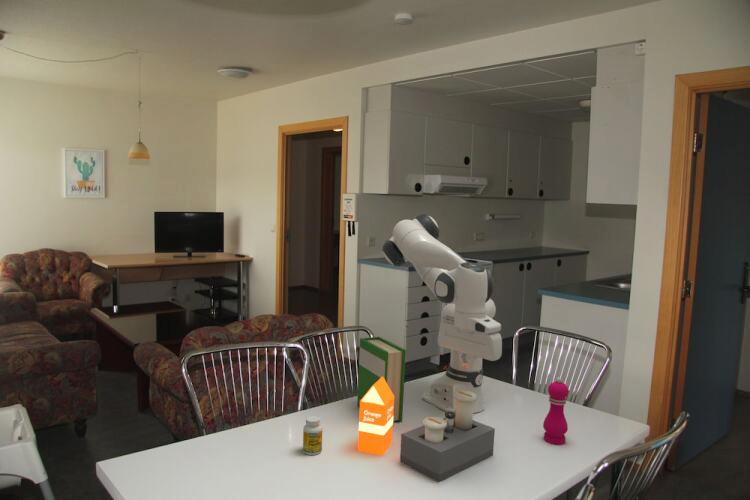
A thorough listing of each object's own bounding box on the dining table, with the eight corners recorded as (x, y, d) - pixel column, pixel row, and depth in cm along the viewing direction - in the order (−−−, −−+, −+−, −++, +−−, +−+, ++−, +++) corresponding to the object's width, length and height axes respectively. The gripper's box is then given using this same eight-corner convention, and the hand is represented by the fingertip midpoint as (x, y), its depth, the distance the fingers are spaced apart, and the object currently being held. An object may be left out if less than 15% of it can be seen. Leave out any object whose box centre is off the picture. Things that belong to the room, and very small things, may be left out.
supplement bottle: (317, 445, 164) (318, 413, 163) (324, 453, 159) (325, 420, 158) (299, 449, 161) (300, 416, 160) (306, 457, 156) (307, 423, 155)
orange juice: (392, 443, 167) (395, 377, 165) (383, 455, 159) (386, 387, 157) (367, 438, 170) (370, 373, 168) (357, 450, 162) (360, 382, 160)
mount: (399, 461, 156) (401, 434, 155) (454, 438, 172) (456, 413, 172) (439, 482, 146) (440, 452, 145) (493, 455, 162) (494, 428, 162)
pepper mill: (568, 446, 170) (573, 382, 168) (543, 443, 172) (548, 379, 170) (565, 436, 177) (570, 375, 175) (541, 434, 179) (545, 372, 177)
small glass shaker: (441, 430, 158) (442, 412, 158) (448, 428, 160) (449, 410, 160) (449, 434, 156) (450, 416, 156) (456, 431, 158) (457, 413, 158)
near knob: (416, 455, 154) (418, 419, 153) (431, 449, 159) (433, 413, 158) (434, 464, 150) (436, 427, 149) (449, 457, 154) (451, 421, 153)
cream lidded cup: (447, 427, 163) (449, 392, 162) (461, 421, 167) (463, 388, 166) (465, 434, 158) (467, 399, 157) (478, 428, 163) (481, 394, 162)
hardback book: (402, 422, 183) (405, 350, 181) (382, 425, 180) (385, 352, 177) (376, 403, 199) (379, 336, 196) (357, 406, 195) (360, 338, 193)
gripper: (434, 315, 165) (432, 361, 166) (493, 329, 150) (490, 379, 152) (448, 313, 169) (445, 358, 171) (506, 326, 155) (503, 375, 156)
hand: (467, 368), depth 161 cm, fingers closed
